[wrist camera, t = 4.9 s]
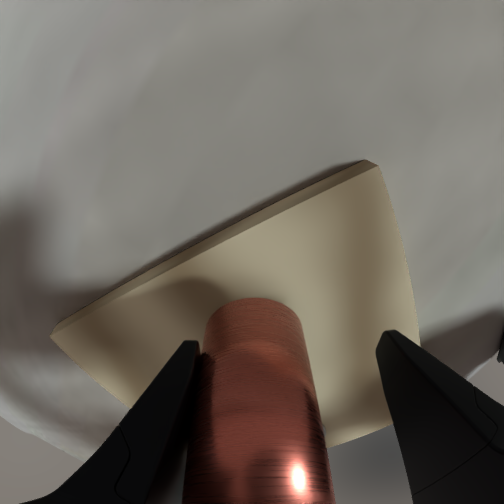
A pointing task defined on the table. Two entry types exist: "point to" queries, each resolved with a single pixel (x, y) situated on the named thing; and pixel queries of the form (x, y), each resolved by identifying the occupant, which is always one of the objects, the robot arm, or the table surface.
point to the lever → (256, 412)
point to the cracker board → (275, 288)
